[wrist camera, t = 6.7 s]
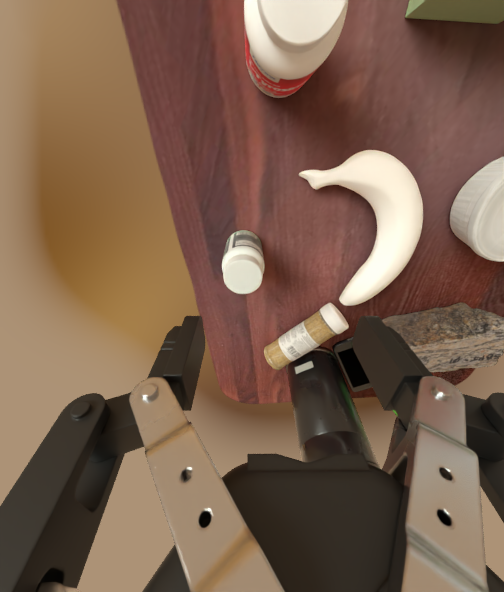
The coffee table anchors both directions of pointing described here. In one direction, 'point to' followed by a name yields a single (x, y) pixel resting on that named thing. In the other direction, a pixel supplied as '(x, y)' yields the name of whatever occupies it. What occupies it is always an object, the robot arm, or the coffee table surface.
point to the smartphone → (351, 365)
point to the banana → (379, 216)
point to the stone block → (452, 336)
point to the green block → (457, 10)
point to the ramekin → (482, 212)
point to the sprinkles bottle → (305, 336)
